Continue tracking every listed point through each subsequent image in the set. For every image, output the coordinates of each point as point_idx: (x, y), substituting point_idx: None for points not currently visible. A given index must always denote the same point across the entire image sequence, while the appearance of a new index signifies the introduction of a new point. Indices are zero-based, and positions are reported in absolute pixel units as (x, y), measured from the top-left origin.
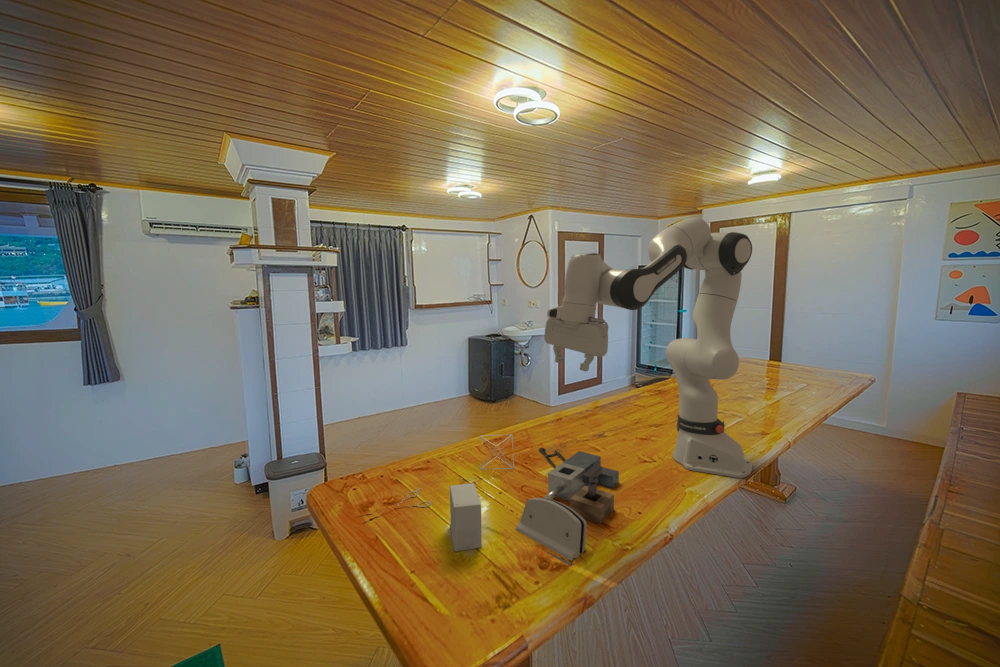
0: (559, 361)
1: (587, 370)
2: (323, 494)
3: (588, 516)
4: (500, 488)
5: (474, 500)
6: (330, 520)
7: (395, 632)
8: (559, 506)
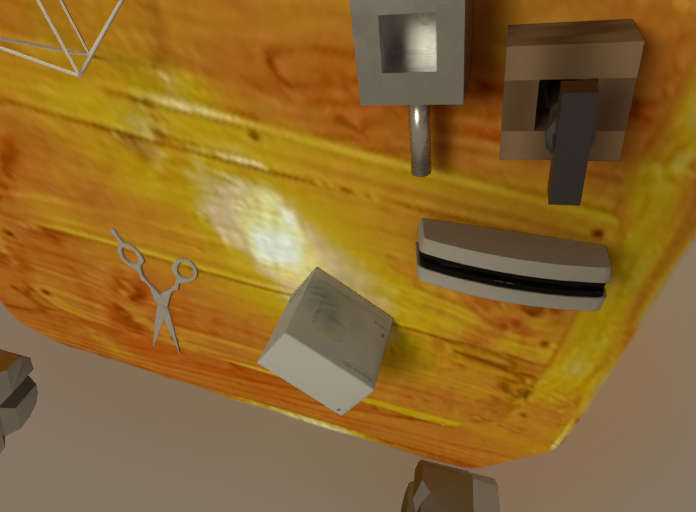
0: (23, 410)
1: (490, 488)
2: (42, 326)
3: None
4: (234, 115)
5: (351, 386)
6: (139, 364)
7: (426, 456)
8: (530, 301)
